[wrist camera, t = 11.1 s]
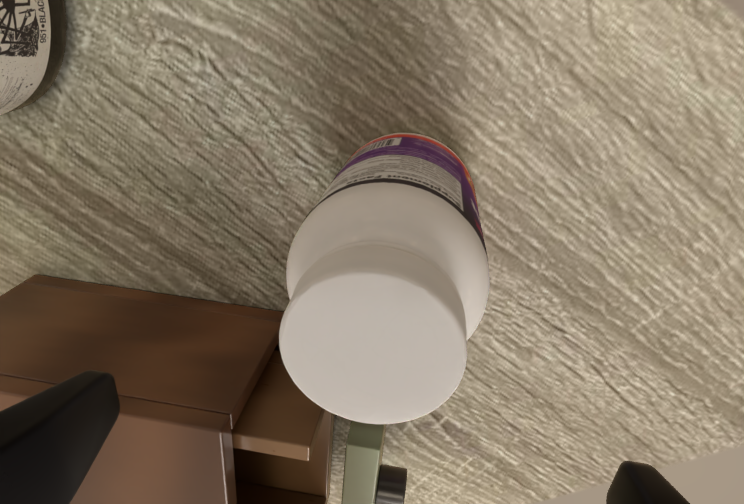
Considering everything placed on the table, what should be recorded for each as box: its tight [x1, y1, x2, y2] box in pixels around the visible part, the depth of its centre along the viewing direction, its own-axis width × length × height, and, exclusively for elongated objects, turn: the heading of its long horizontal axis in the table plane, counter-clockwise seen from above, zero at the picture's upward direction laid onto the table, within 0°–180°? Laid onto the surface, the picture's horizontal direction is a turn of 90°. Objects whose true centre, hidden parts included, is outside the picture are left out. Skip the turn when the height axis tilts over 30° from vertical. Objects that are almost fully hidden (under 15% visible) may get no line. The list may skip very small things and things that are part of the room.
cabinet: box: [0, 275, 284, 504], centre depth 22 cm, size 13×12×7 cm
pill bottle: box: [279, 133, 490, 424], centre depth 14 cm, size 5×5×10 cm
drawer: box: [231, 351, 407, 504], centre depth 21 cm, size 13×10×5 cm
